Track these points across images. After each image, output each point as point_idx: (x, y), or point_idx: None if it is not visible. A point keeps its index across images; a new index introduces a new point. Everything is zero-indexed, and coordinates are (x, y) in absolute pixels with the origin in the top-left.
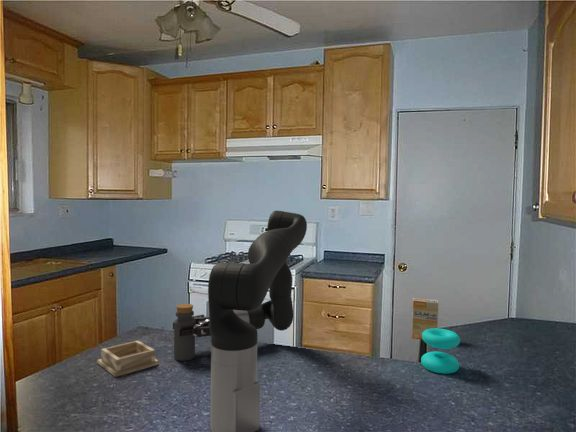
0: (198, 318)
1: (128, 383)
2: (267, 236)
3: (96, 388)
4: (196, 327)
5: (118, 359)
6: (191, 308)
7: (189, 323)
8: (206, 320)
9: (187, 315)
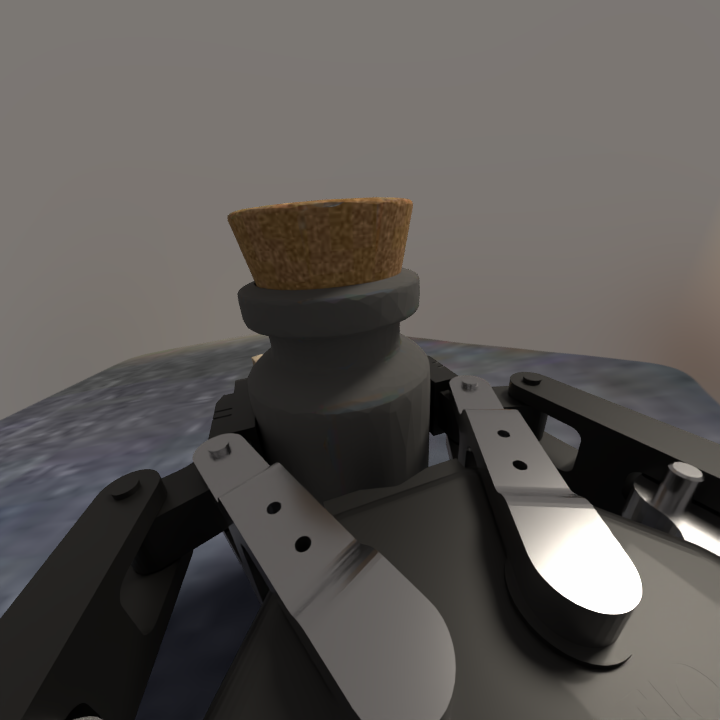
0: (477, 442)
1: (188, 420)
2: None
3: (207, 382)
4: (198, 468)
5: (252, 358)
6: (256, 236)
7: (251, 389)
8: (349, 563)
9: (239, 304)
